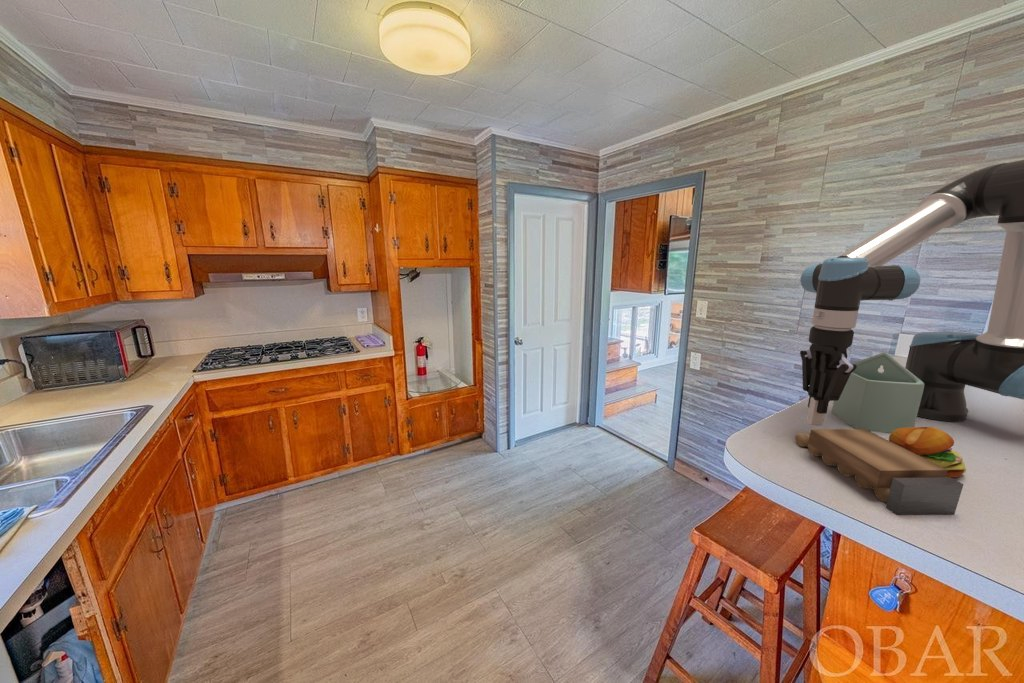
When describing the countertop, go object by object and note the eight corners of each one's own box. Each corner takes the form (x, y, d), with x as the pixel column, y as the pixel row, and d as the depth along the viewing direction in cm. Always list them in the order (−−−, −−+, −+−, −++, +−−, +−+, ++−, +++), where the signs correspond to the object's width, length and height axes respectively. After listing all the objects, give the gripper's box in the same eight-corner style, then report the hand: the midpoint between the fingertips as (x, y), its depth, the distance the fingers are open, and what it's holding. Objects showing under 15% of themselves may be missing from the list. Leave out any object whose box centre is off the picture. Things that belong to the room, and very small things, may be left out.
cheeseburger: (979, 488, 71) (974, 439, 70) (901, 483, 77) (895, 439, 76) (954, 462, 79) (950, 419, 78) (886, 460, 85) (880, 419, 84)
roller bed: (827, 442, 89) (829, 430, 88) (932, 505, 66) (936, 490, 66) (794, 442, 89) (796, 431, 88) (888, 505, 66) (892, 490, 66)
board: (861, 443, 82) (864, 428, 81) (943, 487, 66) (948, 470, 66) (807, 443, 82) (810, 429, 81) (876, 487, 67) (880, 470, 66)
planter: (819, 417, 102) (832, 349, 98) (832, 411, 106) (845, 345, 101) (900, 442, 88) (920, 364, 84) (912, 434, 92) (931, 359, 87)
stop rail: (941, 506, 66) (950, 477, 65) (954, 514, 64) (963, 484, 63) (885, 507, 66) (892, 477, 65) (896, 514, 64) (904, 484, 63)
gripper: (793, 322, 89) (779, 412, 94) (840, 333, 76) (821, 437, 82) (824, 322, 89) (808, 412, 94) (876, 333, 76) (854, 436, 82)
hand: (814, 423), depth 88 cm, fingers closed
